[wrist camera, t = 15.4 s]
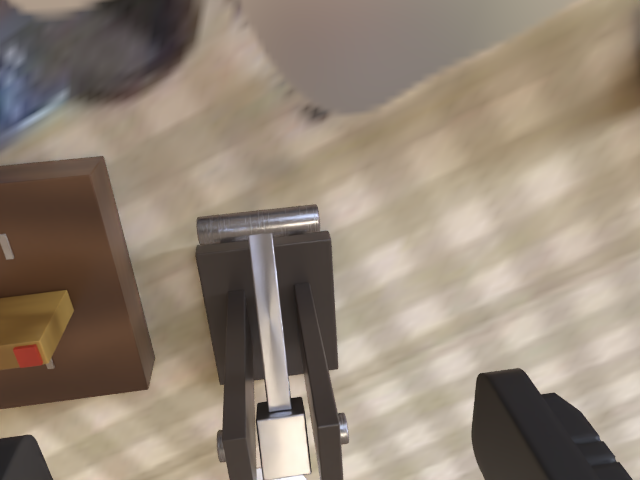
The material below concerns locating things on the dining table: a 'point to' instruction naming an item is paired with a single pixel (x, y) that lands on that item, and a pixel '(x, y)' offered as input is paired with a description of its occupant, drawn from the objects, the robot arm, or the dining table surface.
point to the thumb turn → (32, 327)
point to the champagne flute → (295, 479)
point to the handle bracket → (299, 336)
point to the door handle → (270, 330)
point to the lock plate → (72, 281)
